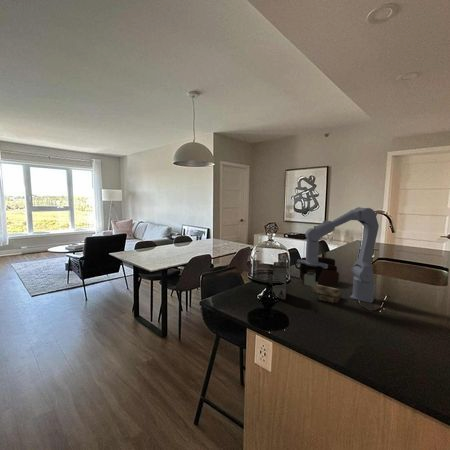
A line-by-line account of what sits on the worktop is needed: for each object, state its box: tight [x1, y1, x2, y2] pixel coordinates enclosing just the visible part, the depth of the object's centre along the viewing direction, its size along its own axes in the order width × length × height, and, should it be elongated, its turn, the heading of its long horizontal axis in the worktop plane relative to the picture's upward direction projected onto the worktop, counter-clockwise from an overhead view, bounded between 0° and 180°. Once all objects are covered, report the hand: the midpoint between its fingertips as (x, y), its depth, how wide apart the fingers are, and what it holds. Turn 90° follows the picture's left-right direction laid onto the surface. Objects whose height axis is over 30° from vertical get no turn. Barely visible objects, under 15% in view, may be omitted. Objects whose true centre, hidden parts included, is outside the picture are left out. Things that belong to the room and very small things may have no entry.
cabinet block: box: [303, 272, 318, 287], centre depth 124 cm, size 5×5×6 cm
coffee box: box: [272, 261, 288, 300], centre depth 126 cm, size 9×6×16 cm
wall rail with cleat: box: [310, 284, 342, 304], centre depth 125 cm, size 14×10×4 cm
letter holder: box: [299, 256, 340, 286], centre depth 147 cm, size 10×20×14 cm, turn 82°
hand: (311, 280), depth 124 cm, fingers closed on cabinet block, 5 cm apart
